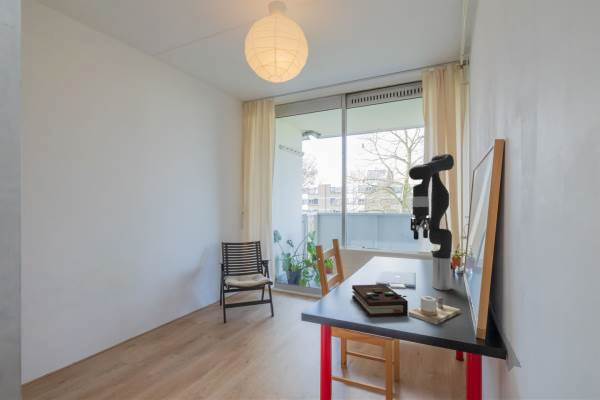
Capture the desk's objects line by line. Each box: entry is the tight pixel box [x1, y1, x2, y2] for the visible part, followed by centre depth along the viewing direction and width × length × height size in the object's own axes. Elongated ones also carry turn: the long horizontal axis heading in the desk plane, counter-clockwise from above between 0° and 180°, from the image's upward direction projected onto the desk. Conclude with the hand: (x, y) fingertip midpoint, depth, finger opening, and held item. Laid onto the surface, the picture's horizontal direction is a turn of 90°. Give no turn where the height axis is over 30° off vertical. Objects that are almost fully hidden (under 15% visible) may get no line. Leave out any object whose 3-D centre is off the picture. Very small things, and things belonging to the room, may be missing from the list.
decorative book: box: [351, 283, 409, 319], centre depth 133 cm, size 19×8×30 cm
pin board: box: [408, 296, 461, 325], centre depth 124 cm, size 20×12×6 cm, turn 127°
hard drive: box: [388, 283, 407, 290], centre depth 166 cm, size 2×8×12 cm
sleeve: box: [420, 295, 438, 315], centre depth 121 cm, size 6×6×6 cm
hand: (420, 238), depth 142 cm, fingers open, 8 cm apart
